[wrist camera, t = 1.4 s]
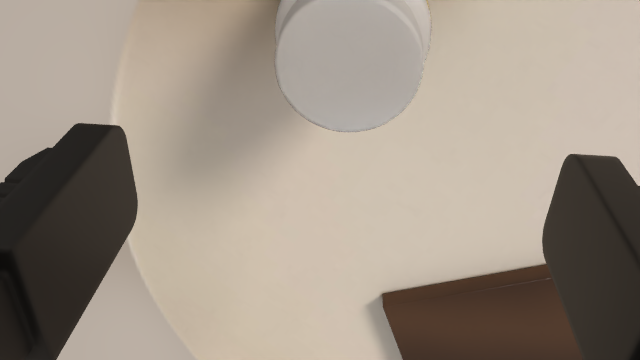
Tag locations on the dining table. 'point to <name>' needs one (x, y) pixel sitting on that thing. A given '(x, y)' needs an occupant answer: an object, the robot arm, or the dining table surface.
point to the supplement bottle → (351, 59)
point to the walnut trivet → (483, 319)
